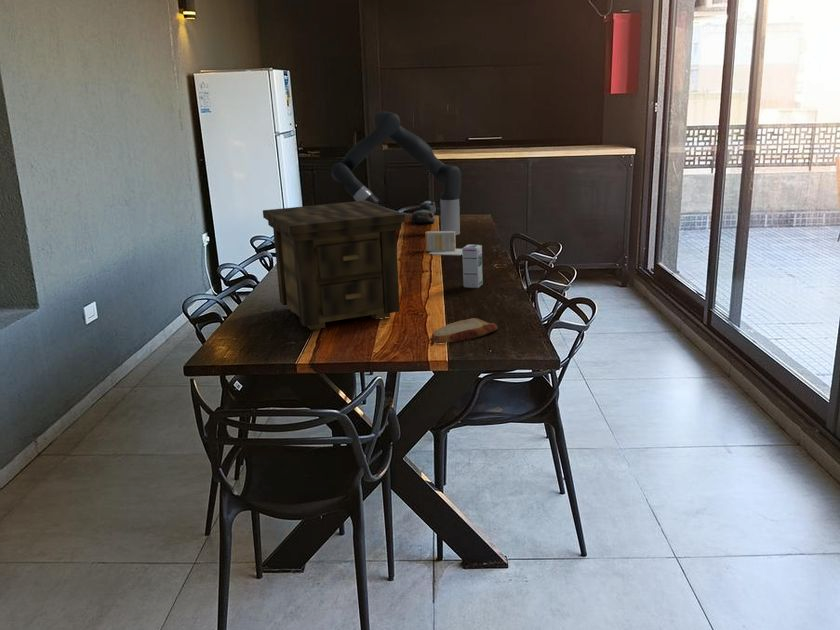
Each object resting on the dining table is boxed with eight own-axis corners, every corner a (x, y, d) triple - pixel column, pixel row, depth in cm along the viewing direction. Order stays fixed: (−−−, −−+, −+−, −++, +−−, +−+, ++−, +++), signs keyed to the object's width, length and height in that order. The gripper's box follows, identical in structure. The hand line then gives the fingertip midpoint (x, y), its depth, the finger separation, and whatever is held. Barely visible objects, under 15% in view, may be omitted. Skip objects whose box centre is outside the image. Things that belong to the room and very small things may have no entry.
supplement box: (426, 249, 324) (455, 249, 323) (425, 251, 319) (455, 251, 318) (425, 230, 322) (455, 230, 320) (425, 232, 317) (455, 232, 316)
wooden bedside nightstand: (371, 293, 256) (365, 200, 247) (409, 319, 226) (405, 214, 216) (272, 308, 243) (262, 210, 234) (299, 337, 213) (289, 226, 203)
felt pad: (435, 249, 326) (435, 248, 326) (475, 249, 321) (475, 248, 321) (428, 254, 315) (428, 253, 315) (469, 255, 310) (469, 254, 310)
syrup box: (478, 288, 258) (478, 247, 254) (462, 287, 260) (461, 247, 256) (483, 284, 264) (482, 244, 259) (467, 283, 266) (466, 244, 261)
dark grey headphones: (406, 222, 395) (411, 198, 397) (425, 229, 400) (431, 205, 402) (417, 218, 381) (423, 192, 383) (437, 225, 386) (443, 200, 388)
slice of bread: (428, 345, 203) (428, 332, 202) (439, 325, 220) (438, 313, 219) (493, 346, 200) (493, 334, 199) (498, 326, 217) (498, 314, 216)
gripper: (366, 195, 313) (395, 223, 314) (376, 191, 326) (403, 218, 326) (355, 207, 316) (384, 235, 317) (365, 202, 329) (393, 230, 329)
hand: (394, 227), depth 321 cm, fingers closed
